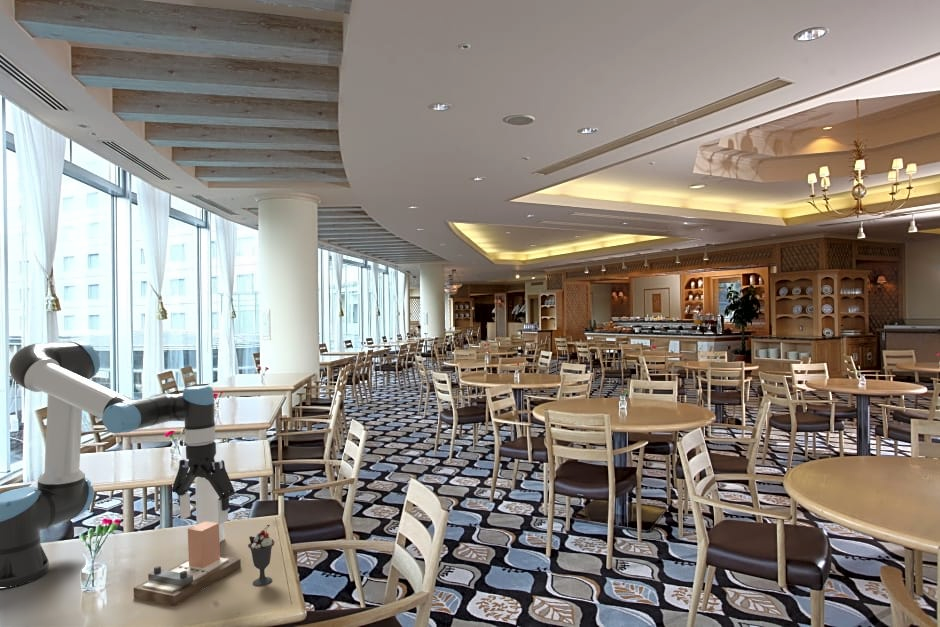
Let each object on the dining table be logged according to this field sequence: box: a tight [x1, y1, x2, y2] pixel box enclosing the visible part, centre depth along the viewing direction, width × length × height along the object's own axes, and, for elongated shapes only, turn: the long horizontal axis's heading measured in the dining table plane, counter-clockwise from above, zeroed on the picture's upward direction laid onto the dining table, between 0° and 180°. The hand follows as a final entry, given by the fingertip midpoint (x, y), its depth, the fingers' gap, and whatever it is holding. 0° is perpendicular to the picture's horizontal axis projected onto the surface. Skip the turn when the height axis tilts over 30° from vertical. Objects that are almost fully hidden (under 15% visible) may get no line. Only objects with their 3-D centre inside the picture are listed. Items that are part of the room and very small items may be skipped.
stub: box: [180, 521, 229, 573], centre depth 159 cm, size 10×8×10 cm
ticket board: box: [133, 555, 242, 607], centre depth 154 cm, size 14×22×6 cm, turn 159°
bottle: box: [194, 457, 226, 543], centre depth 181 cm, size 8×8×30 cm
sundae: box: [247, 524, 275, 587], centre depth 153 cm, size 7×7×15 cm
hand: (204, 519), depth 159 cm, fingers open, 13 cm apart
